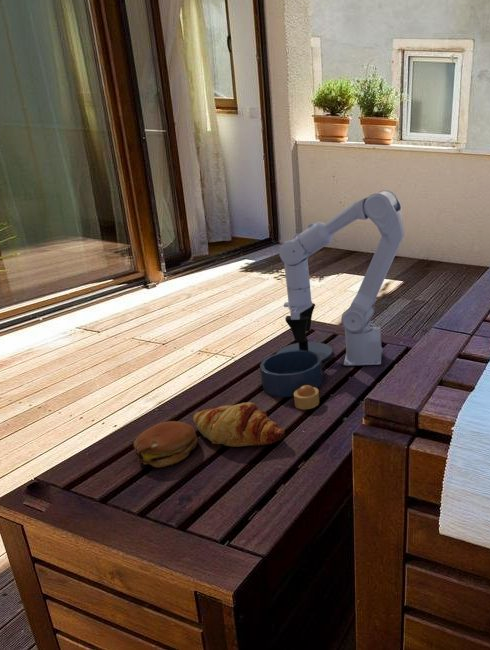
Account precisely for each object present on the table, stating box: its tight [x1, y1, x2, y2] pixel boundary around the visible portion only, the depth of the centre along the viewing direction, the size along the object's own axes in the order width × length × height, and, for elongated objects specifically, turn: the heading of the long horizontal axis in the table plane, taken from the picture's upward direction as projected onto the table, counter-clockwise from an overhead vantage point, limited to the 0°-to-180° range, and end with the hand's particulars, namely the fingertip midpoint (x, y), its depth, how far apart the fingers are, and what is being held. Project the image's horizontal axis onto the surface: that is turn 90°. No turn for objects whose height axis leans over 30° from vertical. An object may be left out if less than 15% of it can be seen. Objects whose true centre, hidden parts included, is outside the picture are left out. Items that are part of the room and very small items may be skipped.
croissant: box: [192, 401, 286, 448], centre depth 90 cm, size 21×10×8 cm, turn 72°
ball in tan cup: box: [293, 385, 320, 411], centre depth 102 cm, size 5×5×4 cm
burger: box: [132, 420, 199, 468], centre depth 85 cm, size 10×9×5 cm
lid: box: [275, 337, 333, 362], centre depth 125 cm, size 15×15×5 cm
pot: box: [259, 350, 324, 398], centre depth 111 cm, size 14×14×5 cm
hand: (303, 336), depth 124 cm, fingers open, 7 cm apart
